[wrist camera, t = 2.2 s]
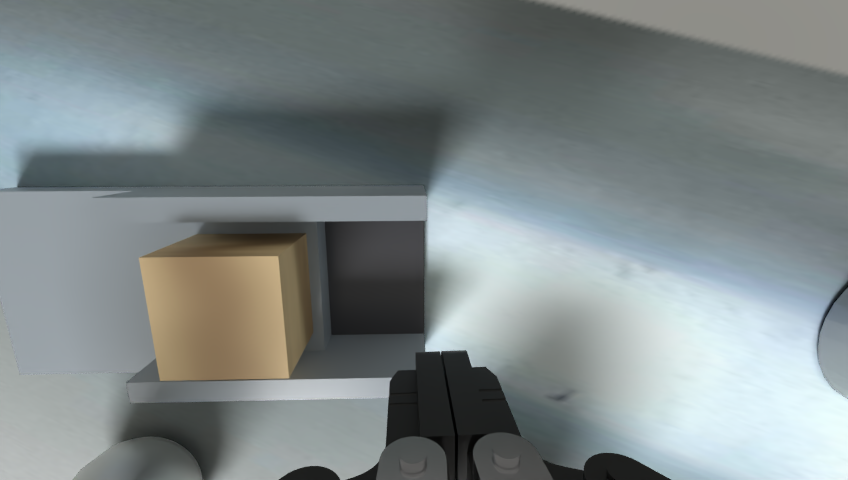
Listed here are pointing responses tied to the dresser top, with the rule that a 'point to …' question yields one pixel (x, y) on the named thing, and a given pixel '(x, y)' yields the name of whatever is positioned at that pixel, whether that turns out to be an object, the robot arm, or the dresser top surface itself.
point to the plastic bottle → (143, 462)
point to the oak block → (229, 305)
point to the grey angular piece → (213, 214)
